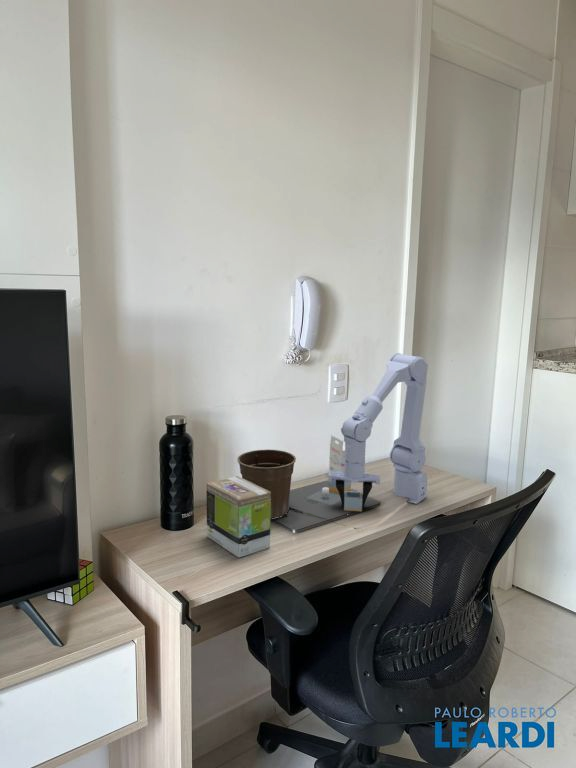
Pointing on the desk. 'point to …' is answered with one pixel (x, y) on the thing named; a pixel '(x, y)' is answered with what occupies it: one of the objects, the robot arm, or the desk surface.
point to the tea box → (238, 515)
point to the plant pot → (270, 475)
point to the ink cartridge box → (336, 455)
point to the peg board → (331, 497)
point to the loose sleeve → (353, 501)
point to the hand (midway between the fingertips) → (352, 505)
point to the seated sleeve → (333, 485)
